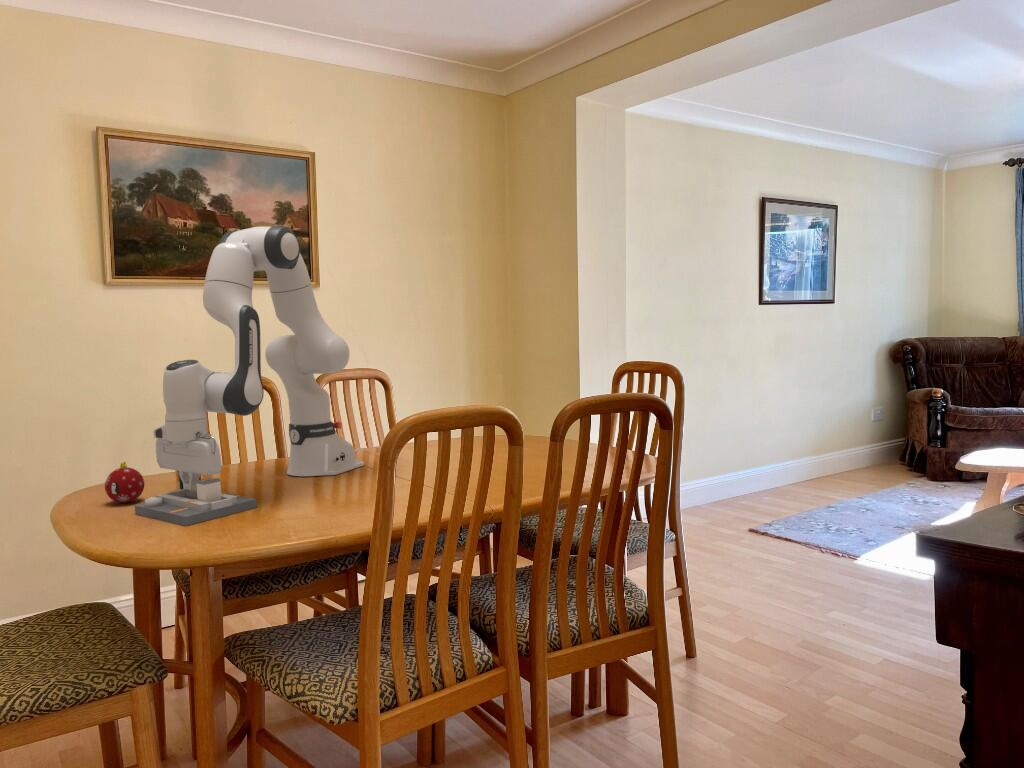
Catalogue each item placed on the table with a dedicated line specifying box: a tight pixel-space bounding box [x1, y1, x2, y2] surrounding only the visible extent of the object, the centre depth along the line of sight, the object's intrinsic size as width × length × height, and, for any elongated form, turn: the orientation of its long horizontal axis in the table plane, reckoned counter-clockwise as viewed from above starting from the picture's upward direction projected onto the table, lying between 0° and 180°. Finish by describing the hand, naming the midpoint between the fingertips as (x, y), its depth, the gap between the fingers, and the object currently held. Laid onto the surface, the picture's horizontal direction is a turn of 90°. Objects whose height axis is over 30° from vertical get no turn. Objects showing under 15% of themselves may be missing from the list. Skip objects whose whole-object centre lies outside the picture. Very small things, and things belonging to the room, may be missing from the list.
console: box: [134, 489, 258, 527], centre depth 175 cm, size 18×20×4 cm
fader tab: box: [196, 476, 222, 503], centre depth 172 cm, size 4×3×6 cm
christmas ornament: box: [104, 461, 145, 504], centre depth 185 cm, size 9×9×10 cm
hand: (190, 490), depth 176 cm, fingers closed
